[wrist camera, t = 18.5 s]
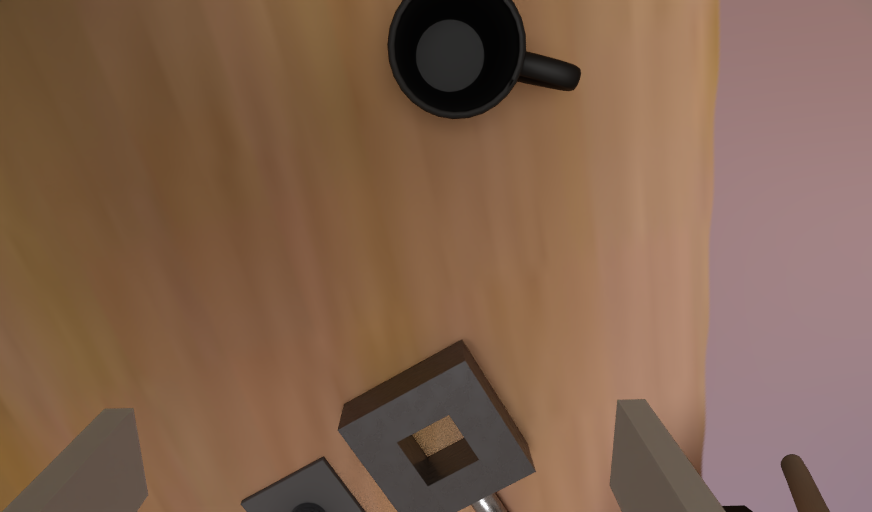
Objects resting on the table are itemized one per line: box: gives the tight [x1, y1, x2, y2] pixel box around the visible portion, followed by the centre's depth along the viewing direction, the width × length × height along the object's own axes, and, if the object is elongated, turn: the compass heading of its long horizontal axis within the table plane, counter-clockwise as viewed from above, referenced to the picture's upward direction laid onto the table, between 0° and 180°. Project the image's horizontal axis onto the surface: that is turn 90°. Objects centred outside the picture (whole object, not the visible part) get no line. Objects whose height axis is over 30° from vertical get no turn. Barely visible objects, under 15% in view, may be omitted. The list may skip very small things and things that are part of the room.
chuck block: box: [338, 340, 536, 512], centre depth 51 cm, size 21×12×4 cm, turn 31°
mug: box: [387, 0, 581, 119], centre depth 39 cm, size 8×12×10 cm
